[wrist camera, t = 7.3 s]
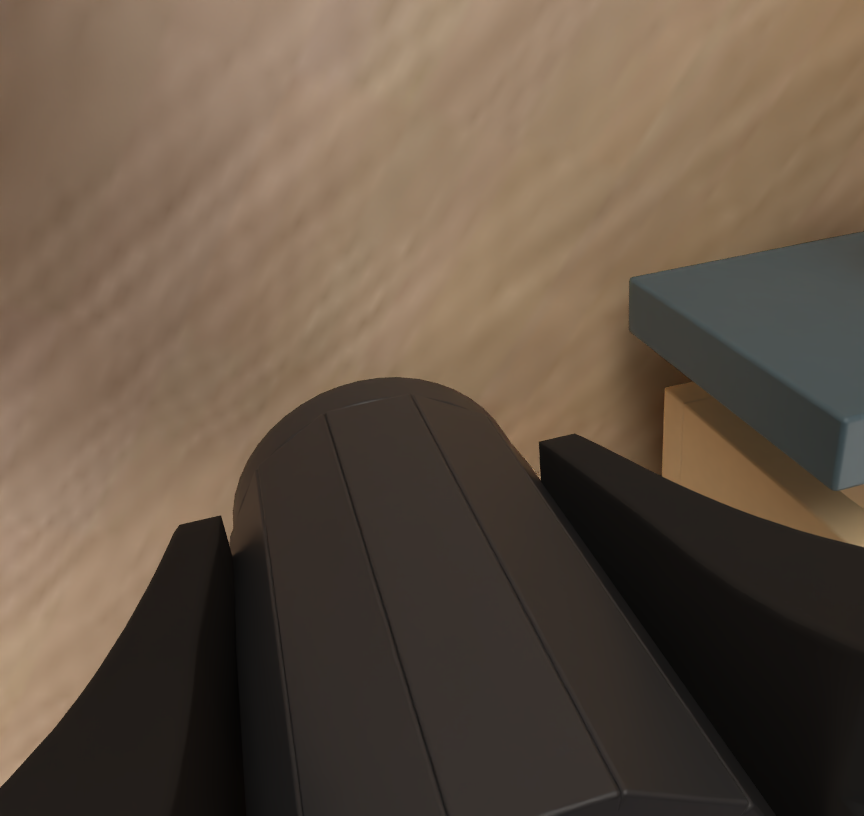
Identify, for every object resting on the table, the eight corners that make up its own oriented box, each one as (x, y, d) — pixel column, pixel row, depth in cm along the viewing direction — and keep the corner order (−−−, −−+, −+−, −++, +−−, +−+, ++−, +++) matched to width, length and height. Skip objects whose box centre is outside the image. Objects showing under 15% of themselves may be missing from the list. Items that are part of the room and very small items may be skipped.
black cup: (507, 347, 13) (835, 726, 7) (524, 582, 16) (778, 1040, 9) (199, 413, 13) (203, 927, 6) (267, 650, 15) (327, 1214, 8)
